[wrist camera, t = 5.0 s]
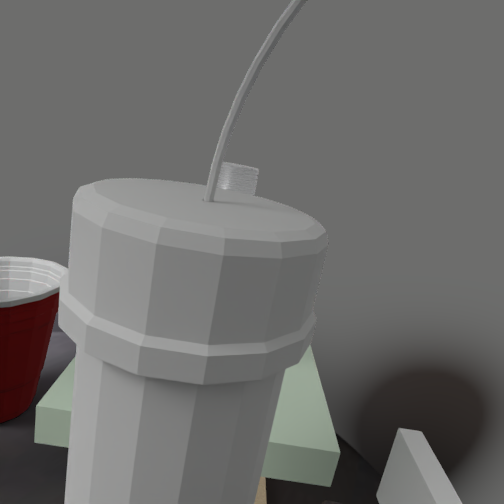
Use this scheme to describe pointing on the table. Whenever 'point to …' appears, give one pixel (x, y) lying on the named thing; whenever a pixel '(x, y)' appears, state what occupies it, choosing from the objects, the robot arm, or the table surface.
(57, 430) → the pale mint square tile
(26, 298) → the plastic cup
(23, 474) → the table surface
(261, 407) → the pipe
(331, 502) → the perforated stone tool
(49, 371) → the table surface
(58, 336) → the table surface
